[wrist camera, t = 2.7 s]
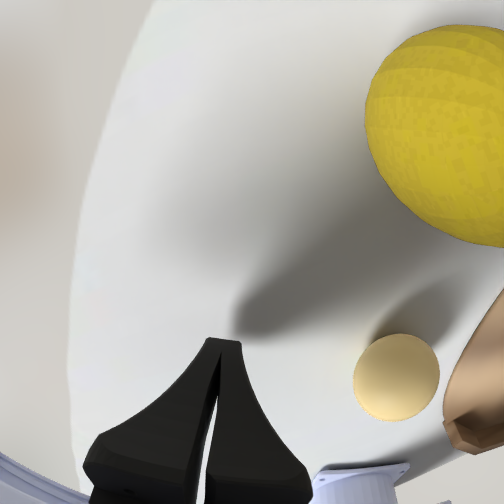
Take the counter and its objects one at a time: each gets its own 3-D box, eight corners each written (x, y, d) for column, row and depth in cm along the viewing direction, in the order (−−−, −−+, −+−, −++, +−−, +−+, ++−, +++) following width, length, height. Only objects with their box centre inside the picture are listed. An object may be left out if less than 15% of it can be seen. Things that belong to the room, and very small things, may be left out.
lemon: (471, 82, 9) (632, 87, 1) (449, 209, 11) (591, 313, 3) (346, 35, 9) (473, -74, 1) (325, 181, 11) (433, 304, 3)
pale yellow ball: (402, 377, 14) (425, 434, 11) (335, 377, 14) (348, 441, 11) (432, 318, 13) (469, 373, 9) (360, 313, 13) (386, 377, 9)
